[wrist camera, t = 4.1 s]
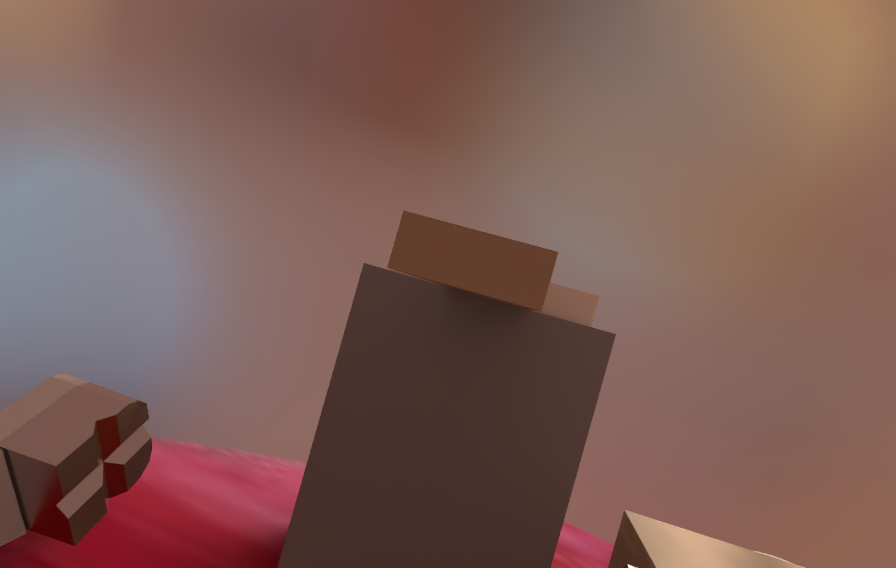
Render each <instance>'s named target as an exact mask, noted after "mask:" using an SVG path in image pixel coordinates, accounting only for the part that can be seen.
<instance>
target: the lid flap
mask: <svg viewBox="0 0 896 568" xmlns="http://www.w3.org/2000/svg"><path fill="white" fill-rule="evenodd" d="M557 254H558V252H556V251H552V250H548V249H545V248H541V247H537V246H534V245H530V244H526V243H522V242H519V241H515V240H511V239H507V238H503V237H500V236H496V235H492V234H489V233H485V232H481V231H477V230H474V229H470V228H466V227H462V226H459V225H455V224H452V223H448V222H444V221H440V220H437V219H433V218H429V217H425V216H422V215H418V214H414V213H410V212H406V211H403V214H402V218H401V221H400V225H399V228H398V232H397V235H396V239H395V242H394V246H393V250H392V253H391V256H390V260H389V263H388V268H389V270H390V271H394V272H397V273H401V274H404V275H408V276H411V277H415V278H418V279H422V280H426V281H429V282H433V283H436V284H440V285H443V286H447V287H450V288H454V289H457V290H461V291H464V292H468V293H472V294H475V295H479V296H482V297H486V298H489V299H493V300H496V301H500V302H503V303H507V304H510V305H514V306H518V307H521V308H525V309H528V310H532V311H535V312H539V313H542V314H546V315H549V316H553V317H557V318H560V319H564V320H567V321H571V322H574V323H578V324H581V325H585V326H588V327H591V325H592V321H593V317H594V314H595V310H596V307H597V303H598V300H599V296H597V295H593V294H589V293H586V292H582V291H578V290H574V289H571V288H567V287H564V286H560V285H556V284H553V283H550V280H551V276H552V272H553V269H554V265H555V262H556V258H557Z"/></svg>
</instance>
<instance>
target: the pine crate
mask: <svg viewBox="0 0 896 568" xmlns="http://www.w3.org/2000/svg"><path fill="white" fill-rule="evenodd" d="M627 564H628V565H631V566H634V567H637V568H804V567H801V566H798V565H795V564H792V563H789V562H786V561H783V560H780V559H776V558H773V557H770V556H767V555H764V554H761V553H758V552H755V551H751V550H748V549H745V548H742V547H739V546H736V545H733V544H729V543H726V542H723V541H720V540H717V539H714V538H711V537H708V536H705V535H701V534H698V533H695V532H692V531H689V530H686V529H683V528H679V527H676V526H673V525H670V524H667V523H664V522H661V521H658V520H655V519H652V518H648V517H645V516H642V515H639V514H636V513H633V512H630V511H626V510H624V513H623V517H622V520H621V524H620V528H619V531H618V535H617V538H616V542H615V545H614V549H613V553H612V556H611V560H610V563H609V567H608V568H623V567H624V566H626V565H627Z"/></svg>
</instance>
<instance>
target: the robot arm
mask: <svg viewBox="0 0 896 568" xmlns="http://www.w3.org/2000/svg"><path fill="white" fill-rule="evenodd" d="M148 419H149V415H148V409H147V404H146V403H144V402H141V401H138V400H136V399H133V398H131V397H128V396H125V395H122V394H120V393H117V392H114V391H112V390H109V389H106V388H104V387H100V386H98V385H95V384H93V383H90V382H87V381H84V380H81V379H79V378H76V377H73V376H70V375H67V374H64V373H63V374H59V375H55V376H51V377H50V378H48V379H47V380H45V381H44V382H43V383H41V384H40V385H38V386H37V387H35V388H34V389H33V390H31V391H29V392H28V393H27V394H25V395H24V396H22V397H21V398H19V399H18V400H16V401H15V402H13V403H12V404H10V405H9V406H8V407H6V408H5V409H3V410H2V411H0V546H2V545H4V544H6V543H8V542H9V541H11V540H13V539H15V538H17V537H19V536H21V535H23V534H25V533H26V532H27V531H26V530H29V531H32V532H35V533H38V534H41V535H44V536H47V537H50V538H53V539H56V540H58V541H61V542H64V543H67V544H70V545H73V546H75V545H76V544H77V543H78V542H79V541H80V540H81V539H82V538H83V537H84V536H85V535H86V534H87V533H88V532H89V531H90V530H91V529H92V528H93V527H94V526H95V524H96V523H97V522H98V521H99V520H100V519H101V518H102V517H103V516H104V515H105V514H106V513H107V510H108V503H109V499H110V498H112V497H114V496H117V495H119V494H122V493H124V492H127V491H128V490H129V489H130V488H131V487H132V486H133V485H134V484H135V483H136V481H137V480H138V479H139V478H140V477H141V475H142V473H143V471H144V470H145V468H146V466H147V464H148V462H149V460H150V456H151V451H152V441H151V437H150V435H149V434H148V433H147V431H146V430H145V428H144V427H143V426H142V425H143V424H144V423H145V421H147V420H148ZM623 568H637V567H634V566H631V565H628V564H627V565H626V566H624V567H623Z"/></svg>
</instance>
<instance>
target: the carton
mask: <svg viewBox="0 0 896 568" xmlns="http://www.w3.org/2000/svg"><path fill="white" fill-rule="evenodd" d="M615 336H616V334H613V333H610V332H606V331H602V330H599V329H595V328H592V327H588V326H585V325H581V324H578V323H574V322H571V321H567V320H564V319H560V318H557V317H553V316H549V315H546V314H542V313H539V312H535V311H532V310H528V309H525V308H521V307H518V306H514V305H510V304H507V303H503V302H500V301H496V300H493V299H489V298H486V297H482V296H479V295H475V294H472V293H468V292H464V291H461V290H457V289H454V288H450V287H447V286H443V285H440V284H436V283H433V282H429V281H426V280H422V279H418V278H415V277H411V276H408V275H404V274H401V273H397V272H394V271H390V270H387V269H383V268H380V267H376V266H372V265H369V264H365V263H364V265H363V268H362V272H361V275H360V279H359V283H358V286H357V289H356V293H355V296H354V300H353V304H352V307H351V310H350V314H349V317H348V321H347V324H346V328H345V332H344V335H343V339H342V342H341V346H340V349H339V353H338V356H337V360H336V363H335V367H334V370H333V374H332V377H331V381H330V385H329V388H328V391H327V395H326V398H325V402H324V405H323V409H322V412H321V416H320V419H319V423H318V426H317V430H316V434H315V438H314V440H313V444H312V447H311V451H310V455H309V458H308V462H307V465H306V469H305V472H304V476H303V479H302V483H301V486H300V490H299V493H298V497H297V500H296V504H295V507H294V511H293V514H292V518H291V521H290V525H289V528H288V532H287V535H286V539H285V542H284V546H283V549H282V553H281V556H280V560H279V563H278V567H277V568H551V564H552V561H553V557H554V553H555V550H556V546H557V543H558V539H559V536H560V532H561V528H562V525H563V521H564V518H565V514H566V511H567V507H568V503H569V499H570V496H571V492H572V489H573V485H574V482H575V478H576V475H577V471H578V468H579V464H580V461H581V457H582V453H583V450H584V446H585V443H586V439H587V435H588V432H589V428H590V425H591V421H592V417H593V414H594V410H595V407H596V403H597V400H598V396H599V392H600V389H601V386H602V382H603V378H604V375H605V371H606V368H607V364H608V361H609V357H610V353H611V350H612V346H613V342H614V339H615Z"/></svg>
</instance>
